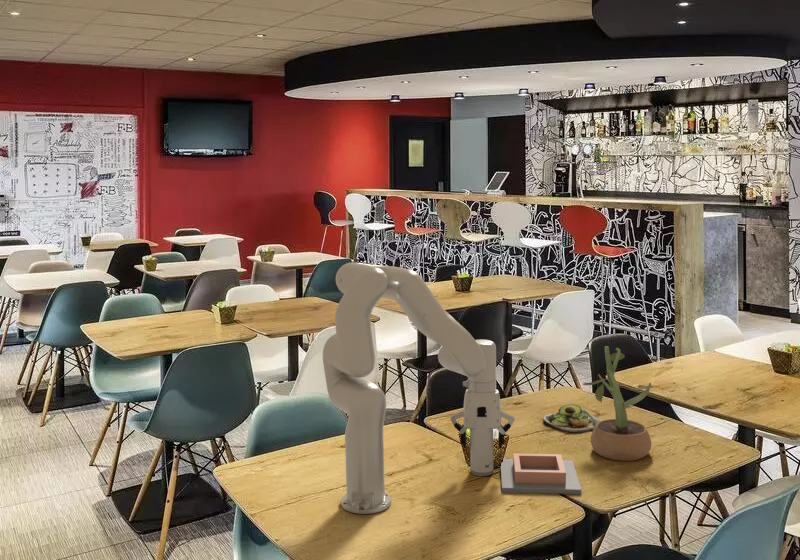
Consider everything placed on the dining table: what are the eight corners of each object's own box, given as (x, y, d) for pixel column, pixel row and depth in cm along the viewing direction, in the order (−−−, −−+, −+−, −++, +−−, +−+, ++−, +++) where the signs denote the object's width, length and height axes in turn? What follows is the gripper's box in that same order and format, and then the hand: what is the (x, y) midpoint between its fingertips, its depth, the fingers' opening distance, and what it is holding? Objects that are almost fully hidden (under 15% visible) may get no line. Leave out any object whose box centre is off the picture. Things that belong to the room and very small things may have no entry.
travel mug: (493, 477, 211) (493, 405, 208) (469, 475, 212) (468, 404, 209) (495, 468, 217) (495, 398, 214) (471, 467, 218) (471, 397, 215)
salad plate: (619, 429, 248) (619, 415, 247) (575, 439, 240) (575, 424, 239) (578, 412, 265) (578, 399, 264) (535, 421, 257) (536, 408, 256)
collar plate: (581, 494, 199) (581, 478, 198) (502, 492, 201) (502, 476, 201) (572, 464, 219) (572, 450, 218) (500, 462, 221) (500, 448, 220)
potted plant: (666, 456, 223) (669, 354, 219) (615, 467, 216) (617, 361, 212) (616, 432, 244) (618, 338, 239) (567, 441, 237) (568, 344, 233)
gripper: (449, 389, 208) (450, 451, 211) (515, 390, 206) (514, 452, 209) (450, 381, 215) (451, 441, 218) (513, 382, 214) (513, 442, 216)
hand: (482, 446), depth 213 cm, fingers open, 9 cm apart
